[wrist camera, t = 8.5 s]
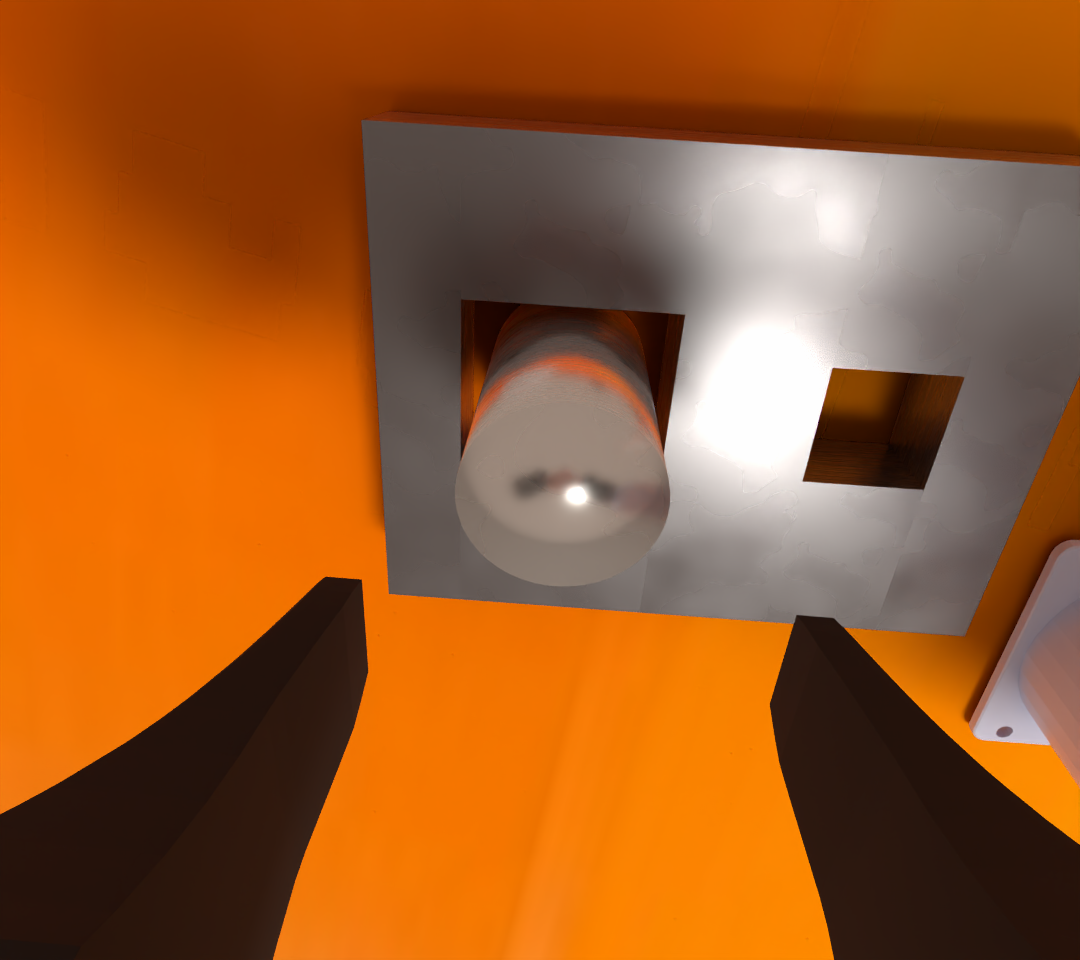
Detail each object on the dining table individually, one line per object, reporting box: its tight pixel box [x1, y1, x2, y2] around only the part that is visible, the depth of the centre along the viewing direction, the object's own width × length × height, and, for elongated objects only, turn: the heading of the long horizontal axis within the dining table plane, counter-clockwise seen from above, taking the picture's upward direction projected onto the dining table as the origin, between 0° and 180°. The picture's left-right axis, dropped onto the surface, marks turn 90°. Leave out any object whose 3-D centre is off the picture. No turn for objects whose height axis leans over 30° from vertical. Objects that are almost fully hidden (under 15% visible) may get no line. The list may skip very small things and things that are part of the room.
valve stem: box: [455, 303, 670, 587], centre depth 17 cm, size 4×4×7 cm
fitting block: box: [361, 111, 1080, 636], centre depth 19 cm, size 16×12×2 cm
